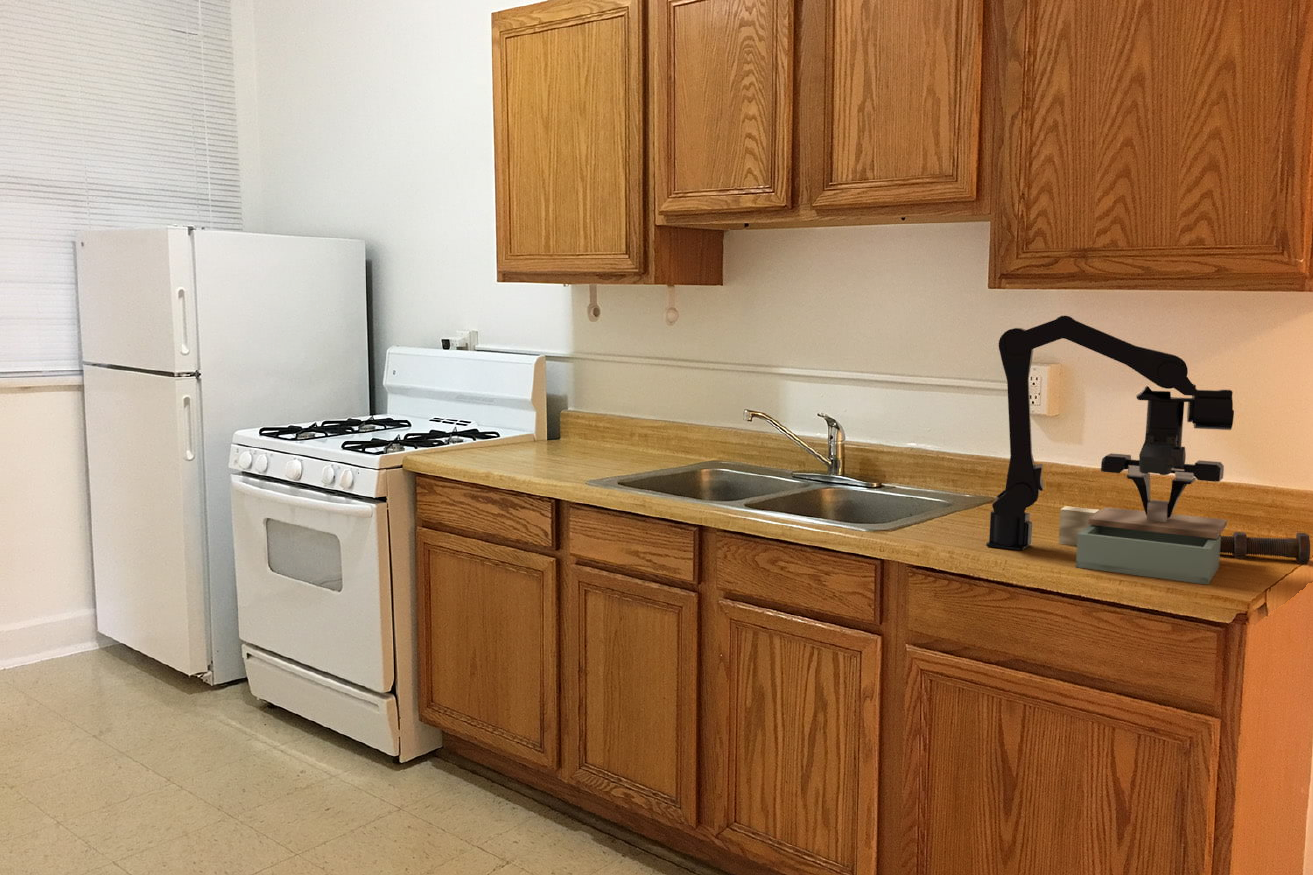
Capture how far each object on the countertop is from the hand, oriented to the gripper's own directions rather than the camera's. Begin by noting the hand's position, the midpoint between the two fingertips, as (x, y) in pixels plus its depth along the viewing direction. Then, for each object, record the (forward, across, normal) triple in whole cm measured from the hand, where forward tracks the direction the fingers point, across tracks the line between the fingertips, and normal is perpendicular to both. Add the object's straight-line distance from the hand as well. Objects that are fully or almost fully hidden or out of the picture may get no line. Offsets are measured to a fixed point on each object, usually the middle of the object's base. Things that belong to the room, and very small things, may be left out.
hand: (1158, 516), depth 189 cm
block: (+8, -14, +5) cm, 17 cm away
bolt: (+8, +15, +12) cm, 20 cm away
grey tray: (+7, 0, -5) cm, 9 cm away
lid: (+2, 0, 0) cm, 2 cm away
